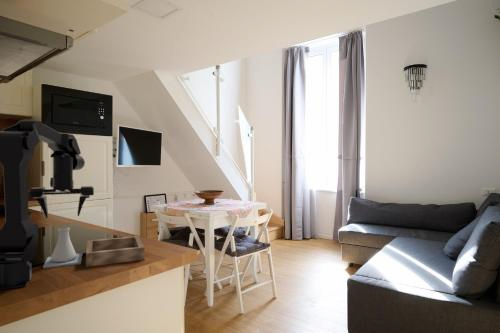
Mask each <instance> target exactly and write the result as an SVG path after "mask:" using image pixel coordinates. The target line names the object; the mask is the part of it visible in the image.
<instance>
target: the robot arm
mask: <svg viewBox="0 0 500 333" xmlns="http://www.w3.org/2000/svg"><path fill="white" fill-rule="evenodd" d="M77 140H78V139H77V138H76V137H75V135H74V134H72V133H63V132H59V131H57V130H55V129H53V128H51V127H50V126H48V125H46V124H44V123H42V121H41V120H39V119H22V120H19V121H18V122H16V123H15V124H12V125H10V126H8V127H5V128H3V129H2V130H0V164H1V165H2V173H3V192H4V194H3V195H4V212H5V213H4V214H5V215H4V216H5V218H4V220H5V222H4V223H3V225H2V226H1V228H0V291H1V290H8V289H15V288H23V287H26V286H27V285H28V284H29V282H30V281H31V279H32V275H33V274H32V269H33V267H32V265H33V264H32V263H31V262H30V261H32V260H34V259H36V256H37V253H38V252H37V251H38V246H39V243H40V242H39V232H38V228H39V226H38V225H39V224H37V222H32V220H31V219H30V216H29V215H30V214H29V213H30V211H29V198H33V201H37V203H38V204H39V206H40V207H41V209H42V211H43V214H44V215H45V218H46V219H48V217H49V209H48V203H47V202H48V201H47V196H48V195H77V194H78V195H80V196H79V200H78V206H77V207H78V208H77V216H78V217H80V215H81V211H82V208H83V206H84V203H85V202H86V200H87V199H90V197H91V196H94V194H95V190H94V189H95V187H93V185H89V186H88V185H87V186H83V185H82V186H81V187H80V188H74V178H73V174H74V171H79V170H82V169H83V168H84V167H85V164H86V162H85V159H84V158H83V156H81V153H82V152H81V150H80V146H79V143H78V141H77ZM40 142H43V143H46V144H47V148H49V149H50V150H52V153H51V154H50V155H49V156H50V158H52V172H53V173H52V177H50V180H49V186H50V189H49V188H47V189H46V187H44V186H43V187H41V186H40V187H39V186H38V187H35V186H34V187H31V188H30V189H28V164H29V163H30V161H31V160H32V158H33V157H34V153H35V147H36V146H37V145H38V144H39V143H40Z"/></svg>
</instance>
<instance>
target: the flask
mask: <svg viewBox="0 0 500 333" xmlns="http://www.w3.org/2000/svg"><path fill="white" fill-rule="evenodd" d="M70 230H71V227H67V226H66V227H59V228H57V231H58V238H57V241H56V245H55V247H54V249H53V252H52V254H51V256H50V257H51V259H50V261H52V262H66V261H70V260H73V259H75V258H76V257H77V254H78V253H77V252H76V250H75V248H74V246H73V243H72V241H71V237H70Z"/></svg>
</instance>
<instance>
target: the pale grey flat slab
mask: <svg viewBox="0 0 500 333" xmlns="http://www.w3.org/2000/svg"><path fill="white" fill-rule="evenodd" d="M76 254H77V257H76V258H75V259H73V260H70V261H66V262H52V261H50V259H51V256H48V257H47V258H46V260H45V262H44V264H43V266H42V268H43V269H48V268H58V267H66V266H77V265H82V260H83V252H82V253H76Z"/></svg>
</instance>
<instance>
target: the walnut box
mask: <svg viewBox="0 0 500 333" xmlns="http://www.w3.org/2000/svg"><path fill="white" fill-rule="evenodd" d="M85 250H86V251H85V252H86V253H85V267H87V268H88V267H96V266H104V265H113V264H119V263H120V264H121V263H129V262H135V261H136V262H137V261H143V260H145V245H144V244H143V242H142V240H141V238H140V236H139V235H136V236H135V235H134V236H123V237H114V238H111V237H110V238H102V239H101V238H99V239H90V240H89V239H88V240H87V244H86V249H85Z"/></svg>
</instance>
